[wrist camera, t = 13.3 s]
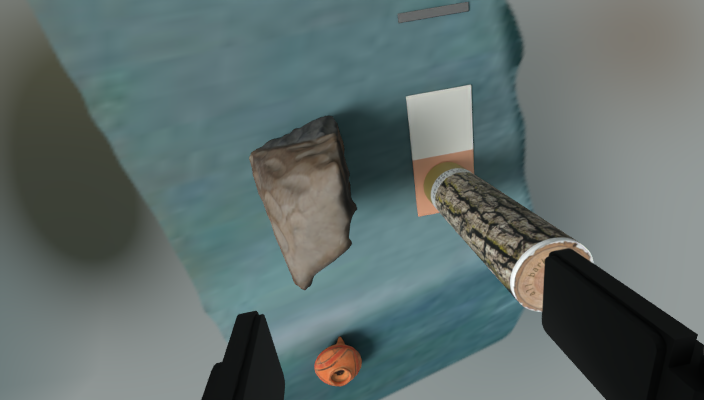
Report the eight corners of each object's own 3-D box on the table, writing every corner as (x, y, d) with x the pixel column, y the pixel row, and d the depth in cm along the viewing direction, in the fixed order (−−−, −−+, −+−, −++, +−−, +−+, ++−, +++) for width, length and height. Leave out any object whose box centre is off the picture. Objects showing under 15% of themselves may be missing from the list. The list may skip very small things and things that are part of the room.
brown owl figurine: (329, 107, 46) (339, 131, 27) (368, 186, 50) (400, 253, 31) (247, 149, 46) (202, 200, 28) (293, 224, 51) (280, 310, 32)
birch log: (414, 196, 51) (498, 302, 28) (432, 154, 49) (539, 230, 26) (454, 208, 52) (565, 318, 29) (473, 168, 50) (609, 252, 27)
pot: (312, 333, 58) (322, 362, 52) (355, 327, 61) (369, 354, 55) (308, 370, 60) (318, 402, 54) (349, 362, 63) (363, 392, 57)
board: (397, 14, 42) (398, 13, 42) (467, 2, 43) (468, 1, 43) (418, 215, 53) (418, 216, 52) (474, 204, 53) (475, 205, 53)
